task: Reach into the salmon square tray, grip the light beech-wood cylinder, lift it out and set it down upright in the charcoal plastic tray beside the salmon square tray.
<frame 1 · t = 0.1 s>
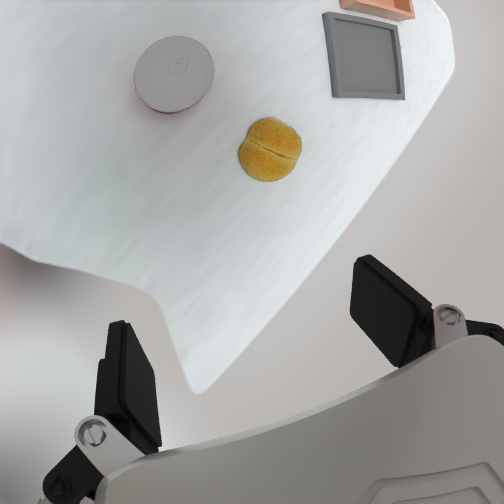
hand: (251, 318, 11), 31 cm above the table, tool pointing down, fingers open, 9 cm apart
charcoal tray: (364, 57, 37), on the table
bread roll: (267, 148, 40), on the table
canned food: (170, 85, 33), on the table
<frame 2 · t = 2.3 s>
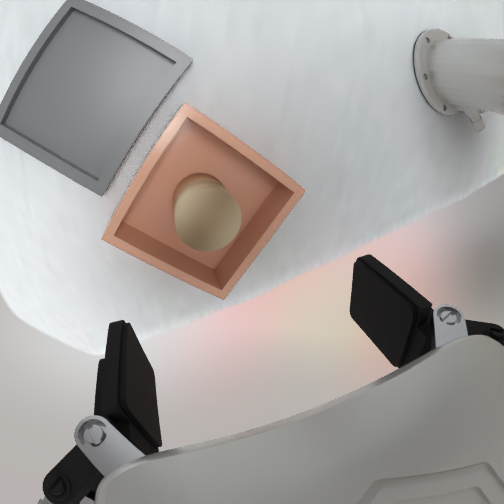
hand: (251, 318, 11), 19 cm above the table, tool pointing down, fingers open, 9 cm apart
charcoal tray: (83, 90, 20), on the table
beech cylinder: (199, 198, 27), point 1 cm above the table, touching salmon square tray
salmon square tray: (198, 197, 27), on the table
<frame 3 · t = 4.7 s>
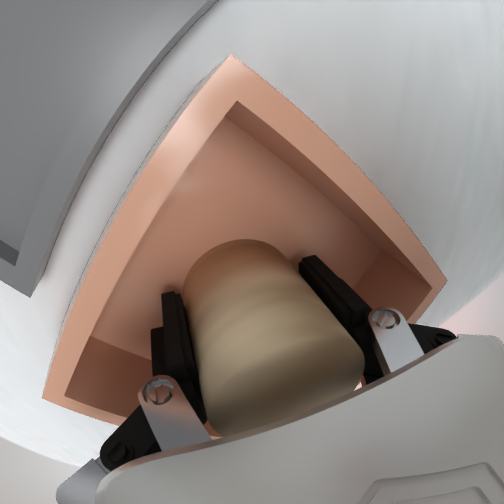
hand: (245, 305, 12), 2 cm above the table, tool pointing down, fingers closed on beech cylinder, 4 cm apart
beech cylinder: (239, 291, 13), point 1 cm above the table, touching gripper, salmon square tray
salmon square tray: (236, 284, 14), on the table
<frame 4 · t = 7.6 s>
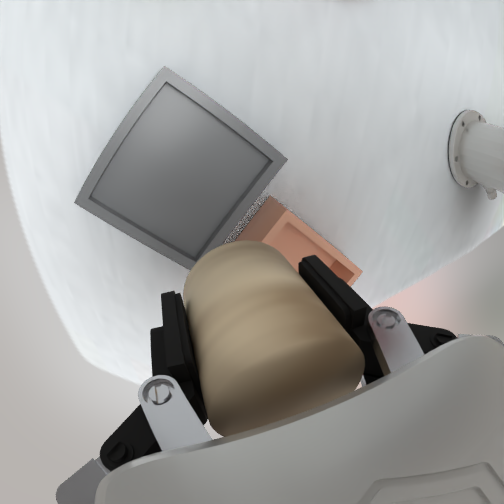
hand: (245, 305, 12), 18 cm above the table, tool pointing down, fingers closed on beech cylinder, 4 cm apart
charcoal tray: (178, 173, 26), on the table
beech cylinder: (240, 292, 13), point 17 cm above the table, touching gripper
salmon square tray: (275, 270, 34), on the table
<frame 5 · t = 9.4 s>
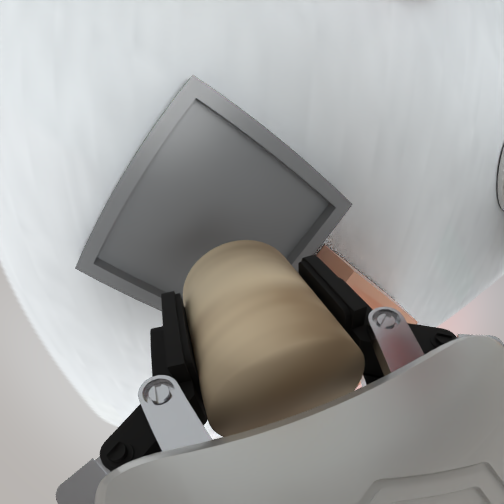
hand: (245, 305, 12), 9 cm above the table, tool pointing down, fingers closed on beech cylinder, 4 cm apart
charcoal tray: (213, 223, 20), on the table
beech cylinder: (239, 292, 13), point 8 cm above the table, touching gripper
salmon square tray: (322, 325, 28), on the table
when the fingers open (3 cm above the table, at t = 10.9 s): beech cylinder drops 2 cm, resting on charcoal tray.
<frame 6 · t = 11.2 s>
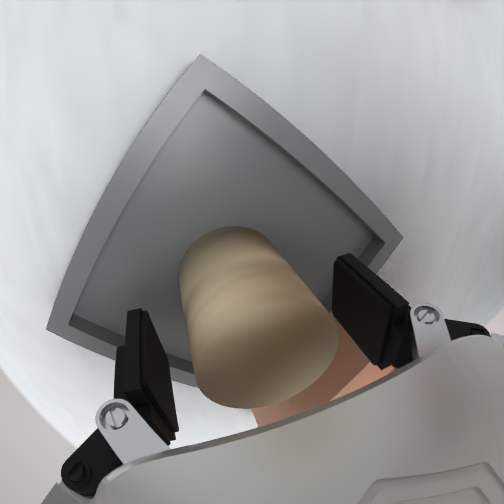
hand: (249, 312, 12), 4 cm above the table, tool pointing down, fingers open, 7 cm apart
charcoal tray: (227, 266, 15), on the table
beech cylinder: (230, 274, 14), point 1 cm above the table, touching charcoal tray
salmon square tray: (350, 367, 23), on the table
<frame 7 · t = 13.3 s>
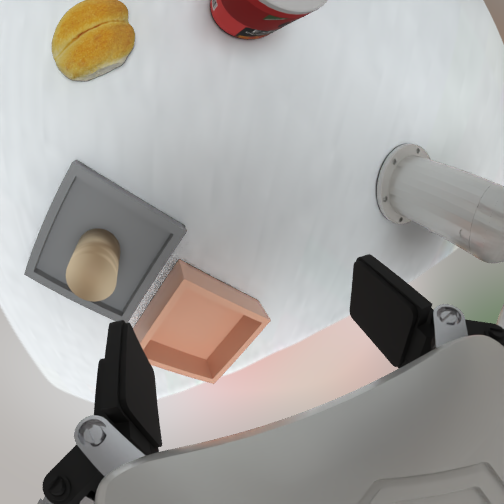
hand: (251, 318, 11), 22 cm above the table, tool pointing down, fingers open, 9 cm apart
charcoal tray: (99, 246, 29), on the table
bread roll: (95, 41, 20), on the table
beech cylinder: (98, 250, 29), point 1 cm above the table, touching charcoal tray
canned food: (243, 10, 23), on the table
salmon square tray: (194, 317, 38), on the table
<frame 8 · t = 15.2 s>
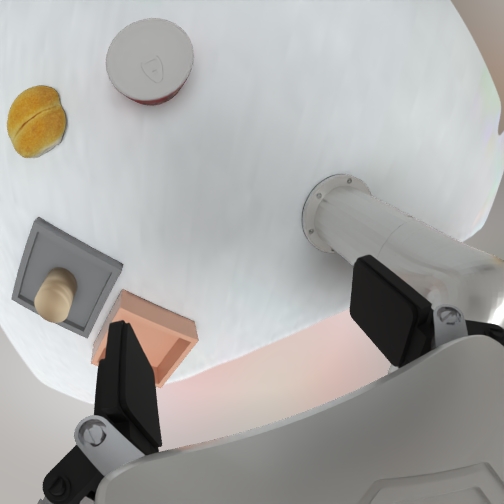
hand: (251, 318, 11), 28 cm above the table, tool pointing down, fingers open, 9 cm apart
charcoal tray: (63, 279, 36), on the table
bread roll: (40, 121, 27), on the table
beech cylinder: (61, 282, 35), point 1 cm above the table, touching charcoal tray
canned food: (153, 75, 29), on the table
salmon square tray: (141, 333, 44), on the table
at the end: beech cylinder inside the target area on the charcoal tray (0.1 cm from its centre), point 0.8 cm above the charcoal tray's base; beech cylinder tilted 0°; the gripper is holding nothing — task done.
